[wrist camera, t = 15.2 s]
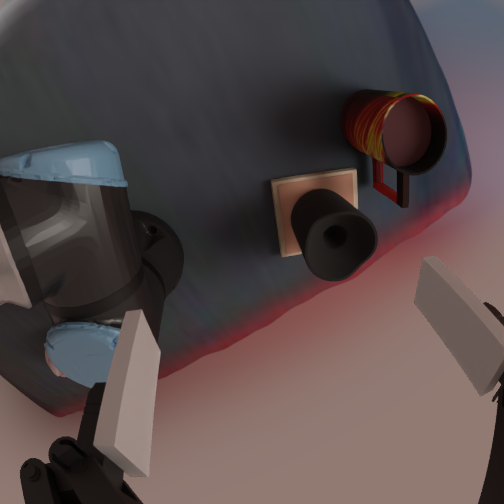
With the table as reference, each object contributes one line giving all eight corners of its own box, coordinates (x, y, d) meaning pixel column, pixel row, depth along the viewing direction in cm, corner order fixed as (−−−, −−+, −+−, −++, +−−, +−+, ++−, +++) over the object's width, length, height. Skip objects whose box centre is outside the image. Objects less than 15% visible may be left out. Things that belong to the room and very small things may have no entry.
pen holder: (348, 239, 47) (374, 273, 39) (289, 249, 47) (306, 287, 38) (347, 181, 43) (379, 206, 34) (284, 189, 43) (302, 217, 34)
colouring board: (280, 253, 49) (282, 258, 48) (270, 180, 43) (272, 182, 42) (355, 238, 49) (358, 242, 48) (353, 167, 43) (357, 169, 42)
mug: (370, 187, 45) (411, 217, 35) (328, 109, 39) (366, 117, 28) (416, 156, 43) (464, 179, 33) (380, 78, 37) (428, 80, 27)
